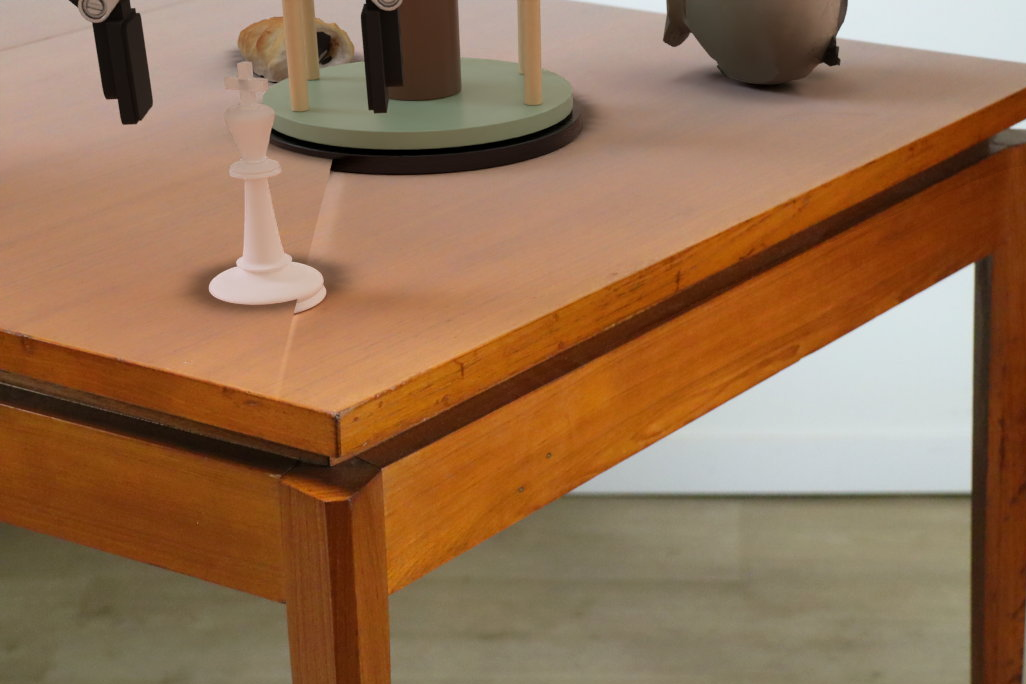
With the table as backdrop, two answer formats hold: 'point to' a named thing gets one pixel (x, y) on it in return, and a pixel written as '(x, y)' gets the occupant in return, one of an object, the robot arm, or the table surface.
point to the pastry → (269, 47)
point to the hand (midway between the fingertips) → (259, 110)
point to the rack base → (439, 151)
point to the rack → (418, 86)
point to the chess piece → (260, 212)
